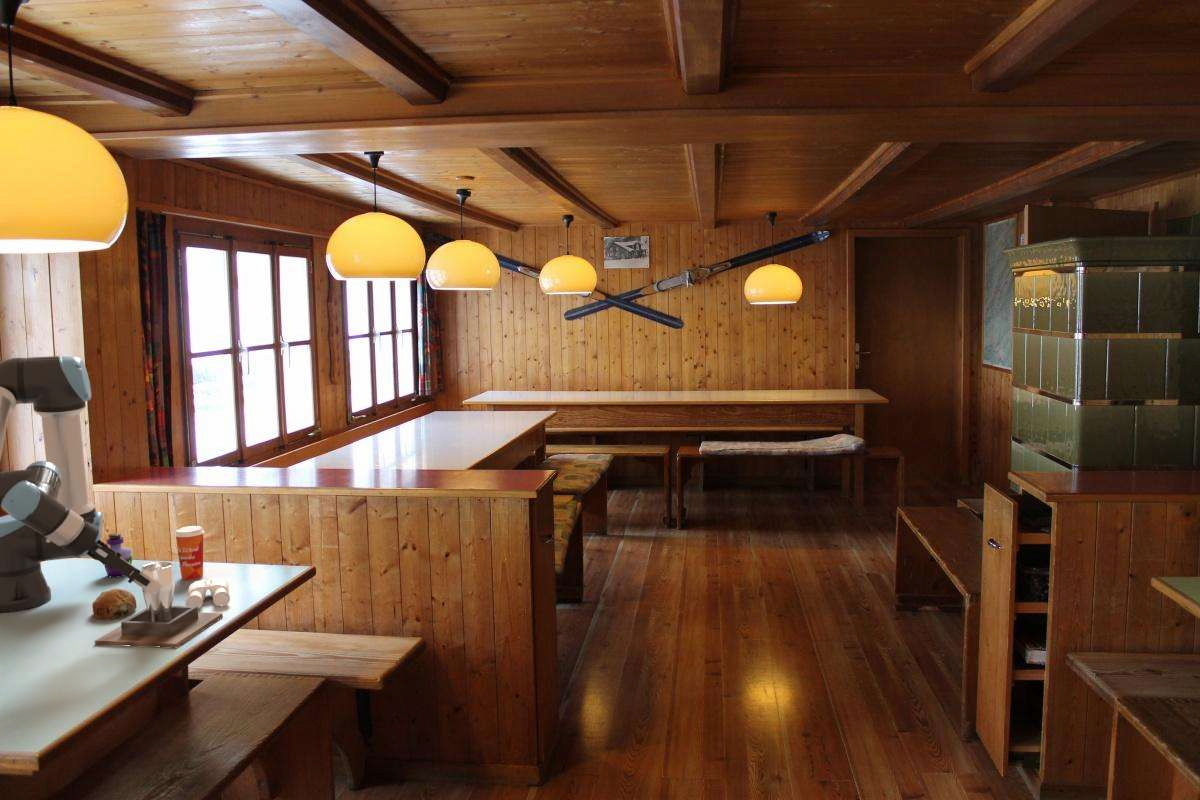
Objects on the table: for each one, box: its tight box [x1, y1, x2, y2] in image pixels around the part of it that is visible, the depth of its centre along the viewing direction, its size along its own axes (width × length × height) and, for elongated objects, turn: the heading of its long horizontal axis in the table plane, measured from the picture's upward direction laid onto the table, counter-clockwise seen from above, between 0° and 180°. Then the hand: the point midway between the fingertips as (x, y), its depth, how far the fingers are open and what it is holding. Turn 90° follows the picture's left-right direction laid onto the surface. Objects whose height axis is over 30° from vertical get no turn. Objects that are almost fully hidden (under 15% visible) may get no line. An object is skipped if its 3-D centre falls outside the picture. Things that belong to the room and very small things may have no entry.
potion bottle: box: [102, 532, 133, 578], centre depth 265 cm, size 9×9×12 cm
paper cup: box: [174, 525, 205, 581], centre depth 262 cm, size 8×8×14 cm
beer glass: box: [141, 561, 175, 622], centre depth 220 cm, size 7×7×15 cm
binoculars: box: [185, 576, 231, 610], centre depth 244 cm, size 10×16×5 cm, turn 22°
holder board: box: [94, 605, 224, 648], centre depth 221 cm, size 20×20×4 cm
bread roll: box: [92, 588, 137, 621], centre depth 234 cm, size 10×10×8 cm
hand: (148, 583), depth 218 cm, fingers open, 13 cm apart
